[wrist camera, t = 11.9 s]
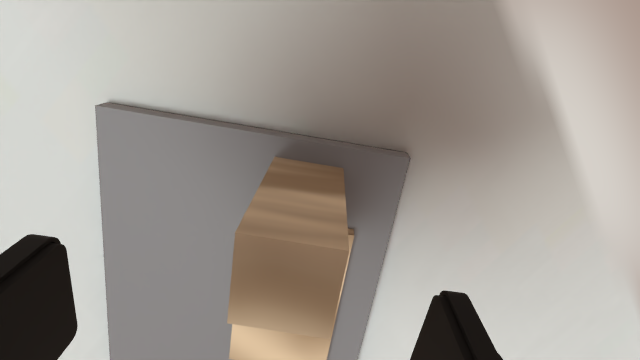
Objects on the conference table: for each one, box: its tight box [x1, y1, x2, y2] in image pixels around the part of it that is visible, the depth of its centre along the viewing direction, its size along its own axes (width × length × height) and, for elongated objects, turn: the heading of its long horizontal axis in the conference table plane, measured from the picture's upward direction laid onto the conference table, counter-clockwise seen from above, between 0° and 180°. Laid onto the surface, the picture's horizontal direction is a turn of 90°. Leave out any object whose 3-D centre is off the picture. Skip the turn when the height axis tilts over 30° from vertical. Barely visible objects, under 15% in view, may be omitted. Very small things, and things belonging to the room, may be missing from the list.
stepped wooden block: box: [227, 157, 354, 360], centre depth 18 cm, size 13×6×8 cm, turn 171°
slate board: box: [95, 103, 410, 360], centre depth 24 cm, size 28×16×1 cm, turn 171°
